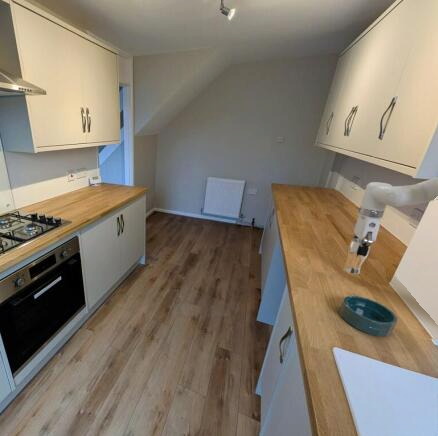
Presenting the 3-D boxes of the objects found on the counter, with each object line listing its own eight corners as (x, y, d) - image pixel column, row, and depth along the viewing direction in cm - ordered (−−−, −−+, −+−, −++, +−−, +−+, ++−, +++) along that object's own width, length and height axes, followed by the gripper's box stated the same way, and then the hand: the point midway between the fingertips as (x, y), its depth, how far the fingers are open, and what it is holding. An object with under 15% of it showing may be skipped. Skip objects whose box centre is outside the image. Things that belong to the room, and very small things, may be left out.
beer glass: (343, 265, 111) (352, 236, 106) (362, 271, 106) (373, 241, 101) (339, 270, 107) (349, 240, 102) (359, 277, 102) (370, 246, 97)
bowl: (381, 315, 85) (386, 302, 84) (399, 343, 74) (405, 329, 72) (335, 303, 91) (339, 291, 89) (345, 328, 79) (350, 315, 77)
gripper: (392, 220, 89) (377, 262, 94) (374, 208, 103) (361, 245, 109) (366, 217, 92) (353, 258, 97) (352, 206, 106) (341, 242, 112)
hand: (358, 251), depth 103 cm, fingers closed on beer glass, 7 cm apart
